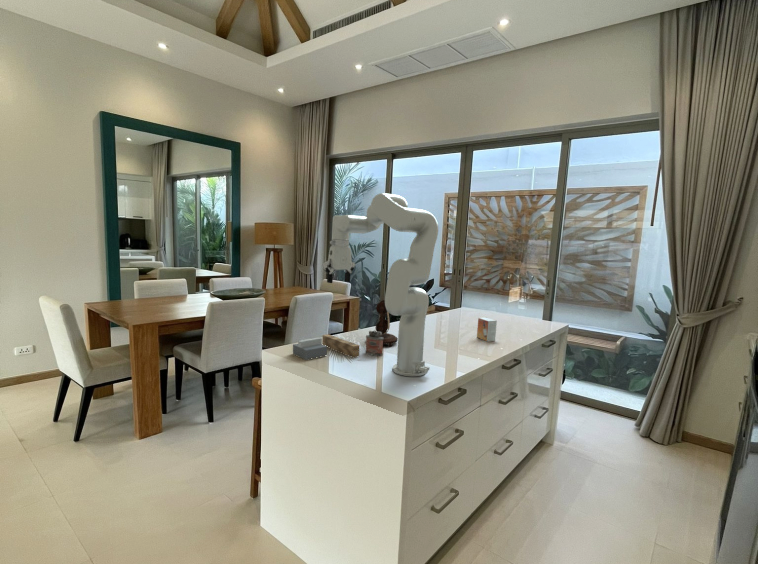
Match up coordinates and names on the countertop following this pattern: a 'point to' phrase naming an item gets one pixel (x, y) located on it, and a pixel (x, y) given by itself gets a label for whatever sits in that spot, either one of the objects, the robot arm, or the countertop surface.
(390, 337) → the brown rounded piece
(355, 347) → the batten
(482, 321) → the small box
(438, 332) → the countertop surface
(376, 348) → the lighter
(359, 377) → the countertop surface
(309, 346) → the ridge stand
